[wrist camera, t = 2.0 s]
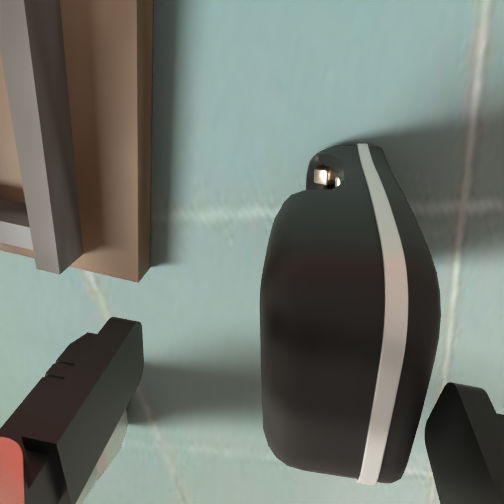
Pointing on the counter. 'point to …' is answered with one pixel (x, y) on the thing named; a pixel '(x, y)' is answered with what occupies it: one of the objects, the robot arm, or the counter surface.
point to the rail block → (77, 134)
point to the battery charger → (347, 321)
